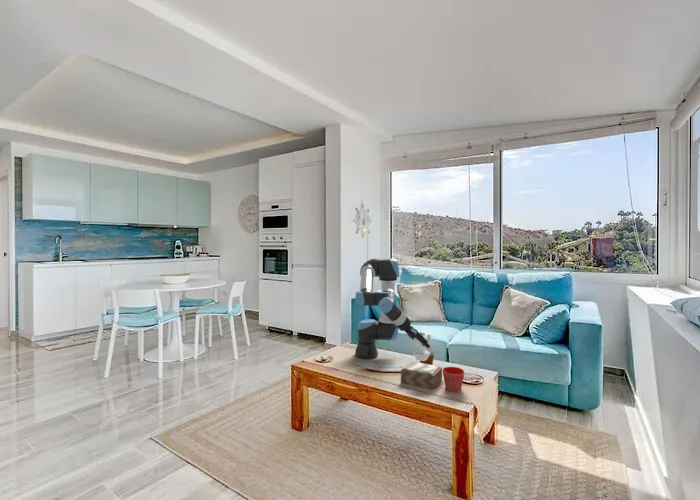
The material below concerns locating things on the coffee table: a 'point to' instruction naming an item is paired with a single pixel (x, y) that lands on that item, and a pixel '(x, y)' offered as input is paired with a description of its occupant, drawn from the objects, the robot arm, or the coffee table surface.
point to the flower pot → (453, 378)
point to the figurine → (422, 348)
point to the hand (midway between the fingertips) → (427, 348)
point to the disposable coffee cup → (429, 358)
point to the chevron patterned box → (421, 375)
